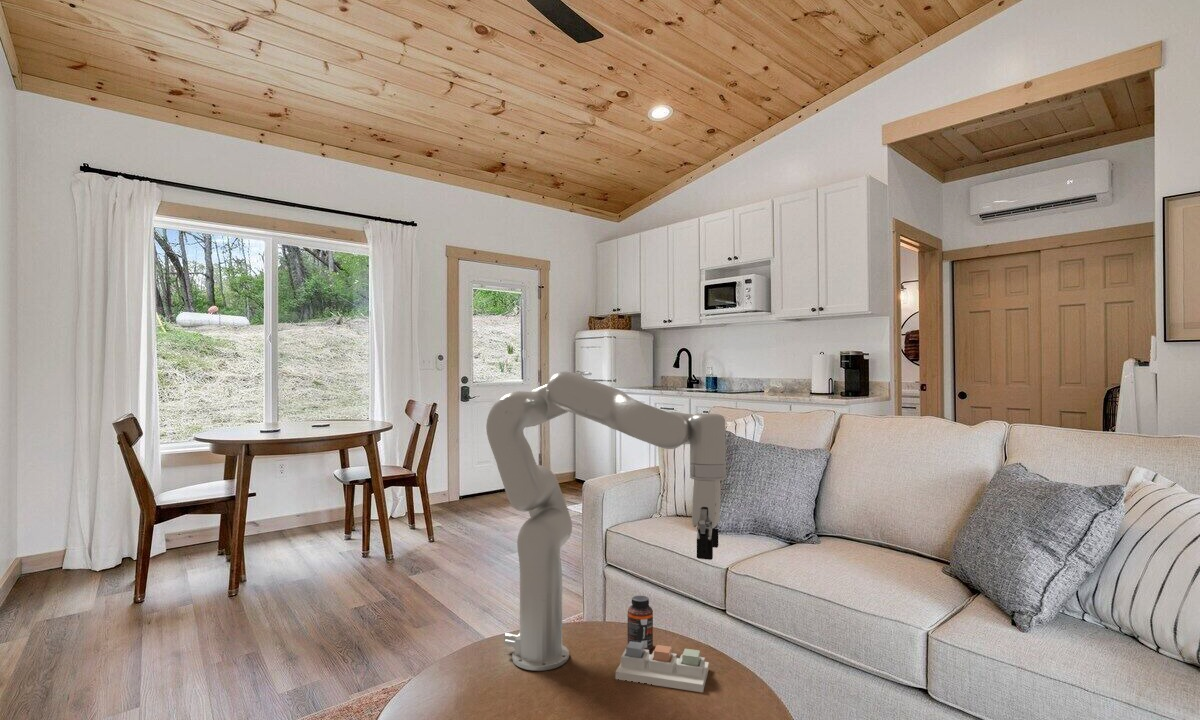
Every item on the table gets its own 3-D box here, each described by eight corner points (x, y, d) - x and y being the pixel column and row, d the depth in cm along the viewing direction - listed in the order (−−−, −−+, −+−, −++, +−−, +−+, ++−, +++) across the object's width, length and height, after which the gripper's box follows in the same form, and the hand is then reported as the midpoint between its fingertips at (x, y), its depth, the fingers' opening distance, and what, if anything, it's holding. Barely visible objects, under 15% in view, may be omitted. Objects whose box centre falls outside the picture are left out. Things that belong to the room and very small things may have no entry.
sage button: (682, 667, 119) (682, 655, 119) (684, 660, 122) (684, 648, 122) (698, 669, 118) (697, 657, 118) (700, 662, 121) (699, 650, 121)
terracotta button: (653, 662, 121) (653, 651, 121) (656, 656, 124) (656, 644, 124) (668, 665, 120) (668, 653, 120) (671, 658, 123) (671, 646, 123)
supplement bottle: (651, 654, 131) (651, 603, 131) (625, 652, 132) (625, 601, 132) (654, 643, 136) (654, 594, 137) (629, 641, 138) (629, 592, 138)
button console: (615, 679, 119) (615, 661, 120) (627, 657, 129) (627, 641, 129) (702, 692, 114) (702, 674, 114) (708, 669, 124) (708, 652, 124)
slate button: (626, 658, 122) (626, 647, 122) (629, 652, 125) (629, 641, 125) (640, 661, 121) (640, 649, 122) (644, 654, 124) (644, 643, 125)
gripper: (696, 465, 133) (696, 541, 132) (683, 475, 116) (683, 562, 115) (729, 467, 130) (729, 544, 129) (720, 478, 114) (721, 566, 113)
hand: (707, 552), depth 122 cm, fingers open, 9 cm apart
